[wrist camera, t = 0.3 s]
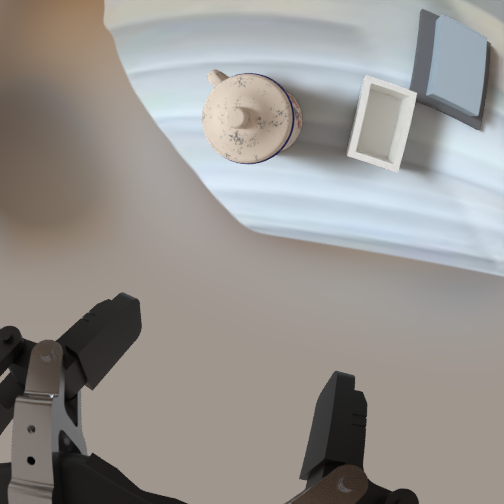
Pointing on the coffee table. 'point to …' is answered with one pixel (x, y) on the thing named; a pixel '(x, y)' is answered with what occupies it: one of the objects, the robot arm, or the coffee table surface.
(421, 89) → the mat
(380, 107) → the white open cubby box
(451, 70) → the lid
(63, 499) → the robot arm
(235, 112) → the teacup with lid
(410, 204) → the coffee table surface
